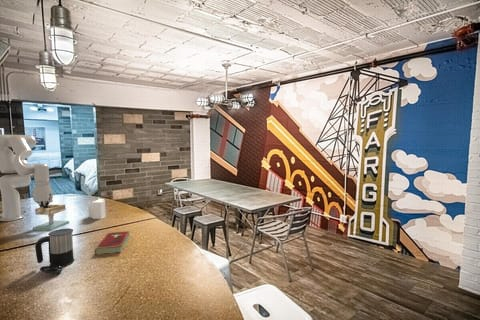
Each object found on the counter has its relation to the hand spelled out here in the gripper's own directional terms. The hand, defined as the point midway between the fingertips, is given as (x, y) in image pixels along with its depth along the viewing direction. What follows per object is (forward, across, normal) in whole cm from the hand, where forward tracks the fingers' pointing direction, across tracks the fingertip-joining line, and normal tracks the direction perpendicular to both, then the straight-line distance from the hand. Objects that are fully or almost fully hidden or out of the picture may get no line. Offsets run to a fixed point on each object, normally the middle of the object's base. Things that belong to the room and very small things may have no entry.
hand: (44, 211), depth 163 cm
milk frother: (+11, +53, -48) cm, 72 cm away
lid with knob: (+10, +4, 0) cm, 11 cm away
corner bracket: (+10, +20, +23) cm, 32 cm away
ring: (+1, +5, 0) cm, 5 cm away
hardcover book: (+12, +63, -24) cm, 68 cm away
